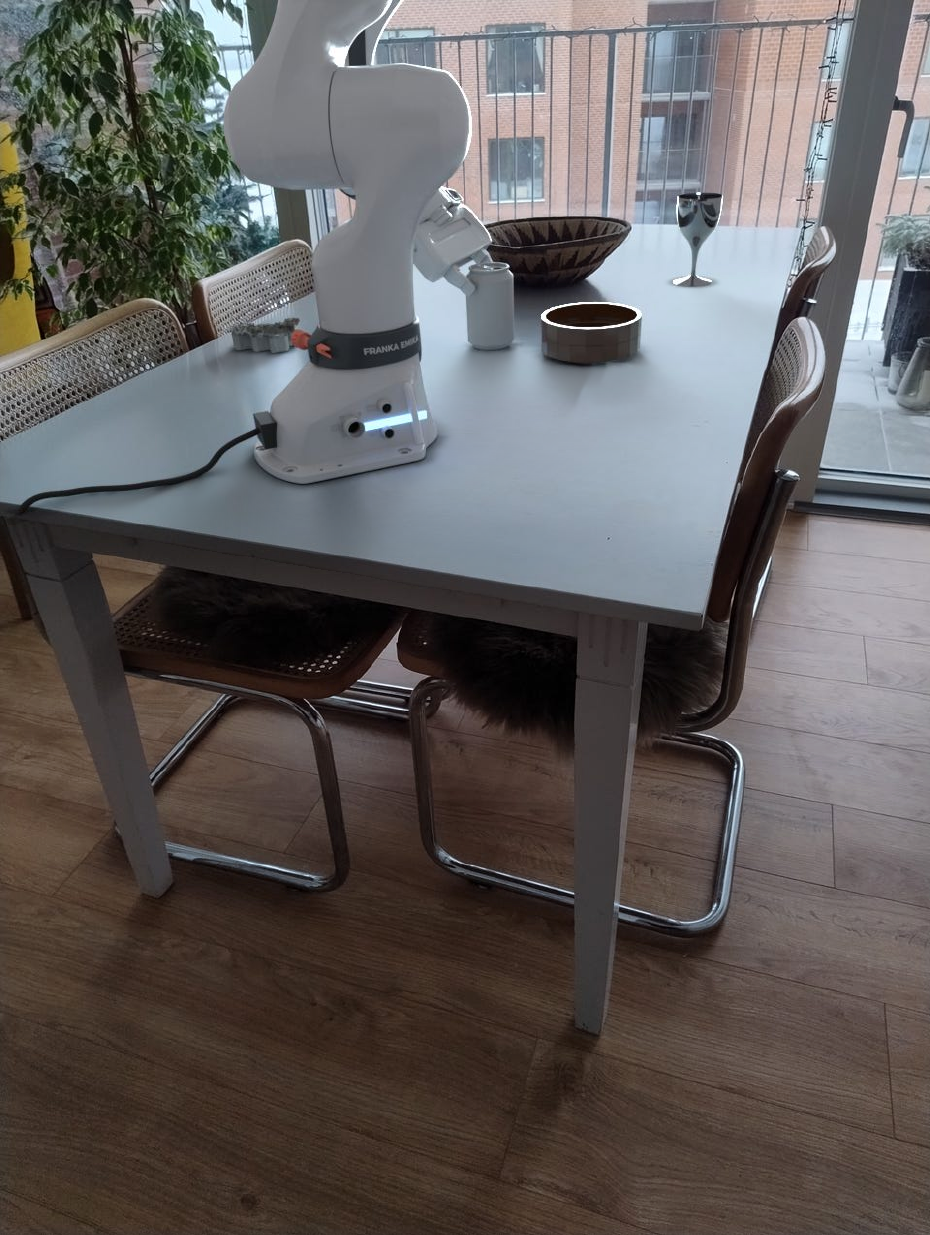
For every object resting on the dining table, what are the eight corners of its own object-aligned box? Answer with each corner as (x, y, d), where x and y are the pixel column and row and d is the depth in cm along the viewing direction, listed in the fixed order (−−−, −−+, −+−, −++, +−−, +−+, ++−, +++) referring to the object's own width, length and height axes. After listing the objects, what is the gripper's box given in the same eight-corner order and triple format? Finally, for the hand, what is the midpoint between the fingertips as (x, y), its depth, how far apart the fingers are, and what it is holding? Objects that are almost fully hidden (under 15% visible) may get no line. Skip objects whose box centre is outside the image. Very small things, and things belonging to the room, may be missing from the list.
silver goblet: (719, 279, 167) (728, 193, 159) (705, 288, 162) (714, 200, 153) (680, 275, 171) (687, 192, 163) (664, 285, 166) (671, 198, 157)
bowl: (584, 373, 124) (585, 335, 121) (522, 351, 135) (521, 314, 132) (659, 352, 131) (662, 315, 128) (595, 332, 141) (596, 297, 138)
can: (510, 351, 135) (509, 270, 128) (463, 351, 136) (459, 270, 130) (518, 338, 141) (516, 259, 134) (472, 337, 142) (469, 260, 136)
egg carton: (306, 342, 145) (302, 317, 143) (280, 355, 139) (276, 329, 137) (254, 337, 149) (249, 312, 147) (226, 349, 143) (222, 324, 141)
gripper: (404, 211, 122) (472, 286, 124) (461, 188, 137) (520, 256, 140) (379, 244, 126) (445, 316, 128) (437, 218, 141) (495, 284, 144)
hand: (484, 285), depth 134 cm, fingers open, 8 cm apart
